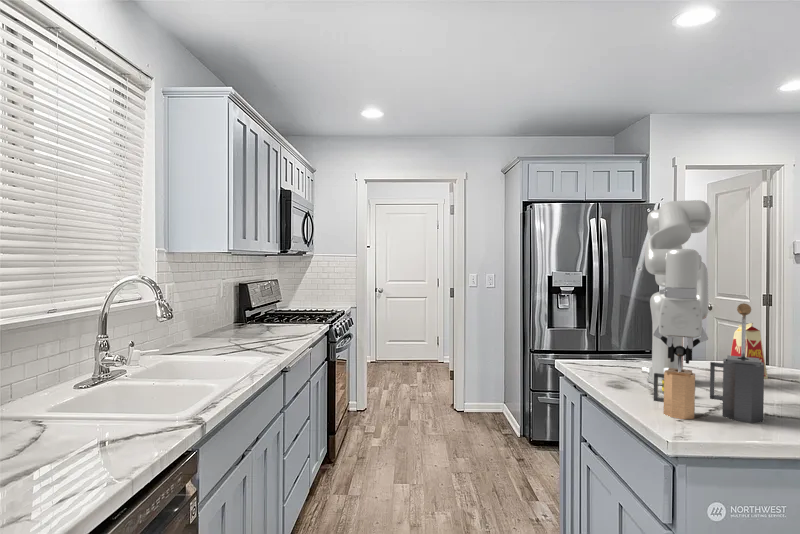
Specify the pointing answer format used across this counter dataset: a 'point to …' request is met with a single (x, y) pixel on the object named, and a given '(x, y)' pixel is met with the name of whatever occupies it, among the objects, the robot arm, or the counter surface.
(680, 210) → the robot arm
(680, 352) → the grey ball handle
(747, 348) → the milk carton
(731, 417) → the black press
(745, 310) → the plunger rod
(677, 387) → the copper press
